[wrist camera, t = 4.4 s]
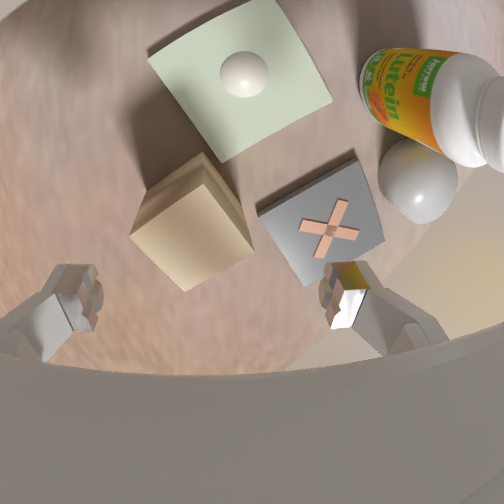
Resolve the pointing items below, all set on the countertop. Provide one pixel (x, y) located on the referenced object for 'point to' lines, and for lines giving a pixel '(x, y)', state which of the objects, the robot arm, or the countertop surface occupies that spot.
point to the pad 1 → (241, 76)
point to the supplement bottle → (438, 102)
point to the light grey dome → (417, 180)
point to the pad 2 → (324, 221)
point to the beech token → (192, 224)
